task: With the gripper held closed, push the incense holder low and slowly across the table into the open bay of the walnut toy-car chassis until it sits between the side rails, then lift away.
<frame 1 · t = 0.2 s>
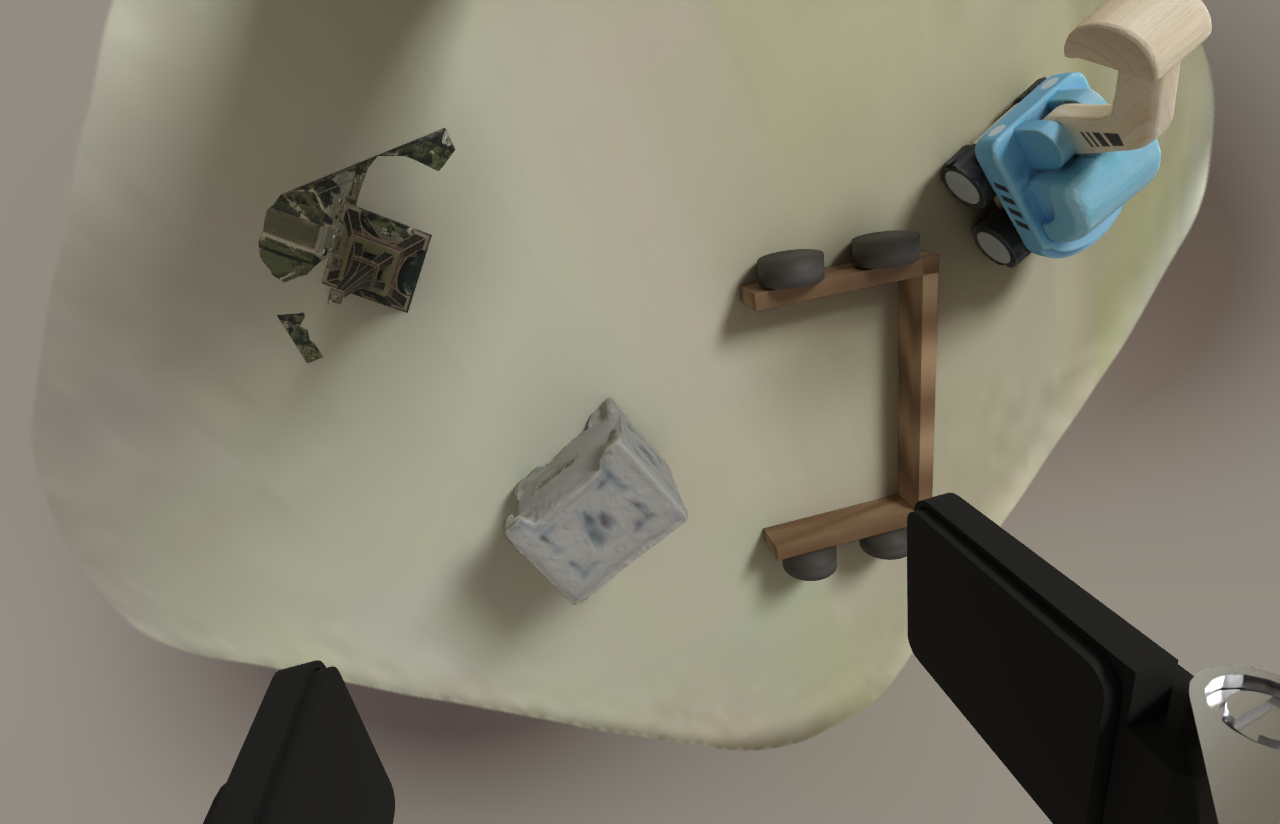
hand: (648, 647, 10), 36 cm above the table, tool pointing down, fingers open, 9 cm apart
eiffel tower figurine: (377, 249, 42), on the table
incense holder: (584, 461, 50), on the table
toy excavator: (985, 142, 47), on the table
chassis bay: (818, 408, 52), on the table
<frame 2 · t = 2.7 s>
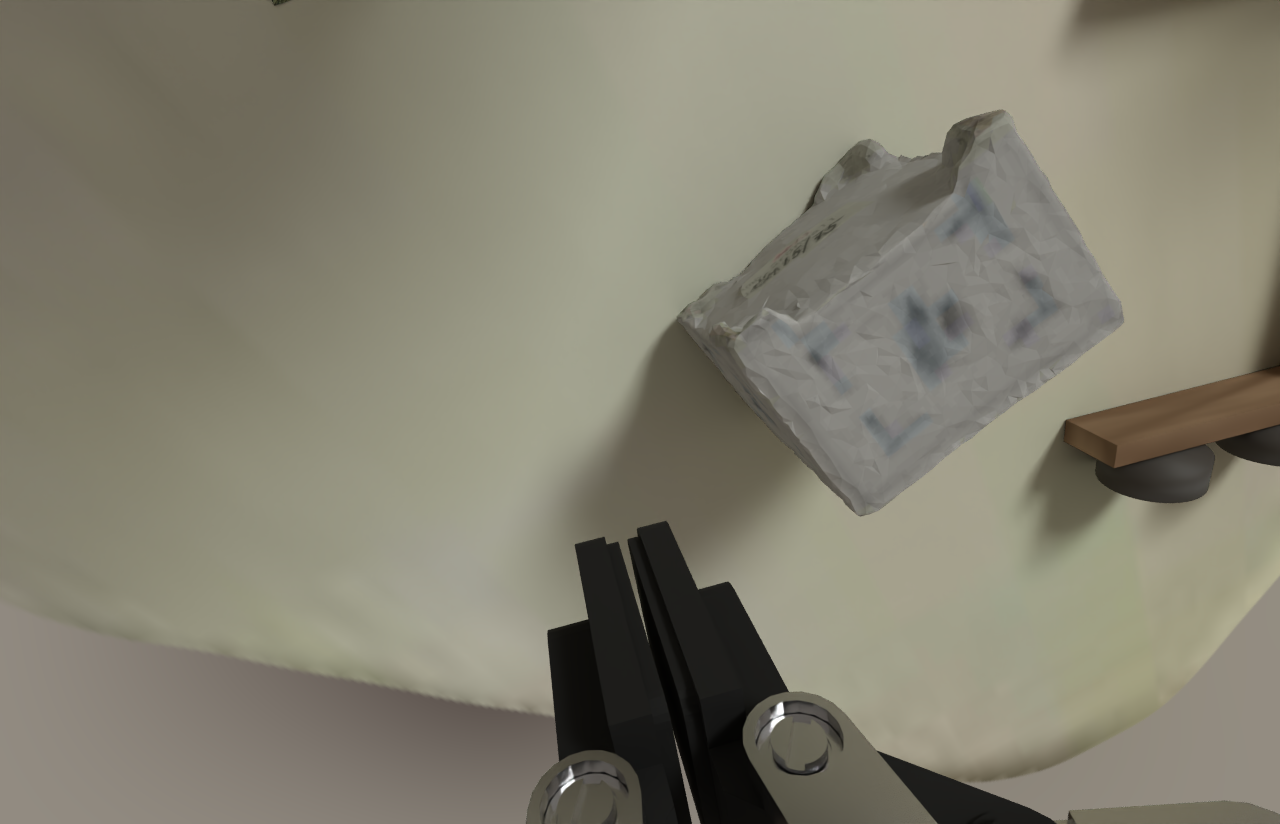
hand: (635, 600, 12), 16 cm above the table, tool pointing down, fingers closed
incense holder: (795, 279, 27), on the table
chassis bay: (1199, 193, 29), on the table
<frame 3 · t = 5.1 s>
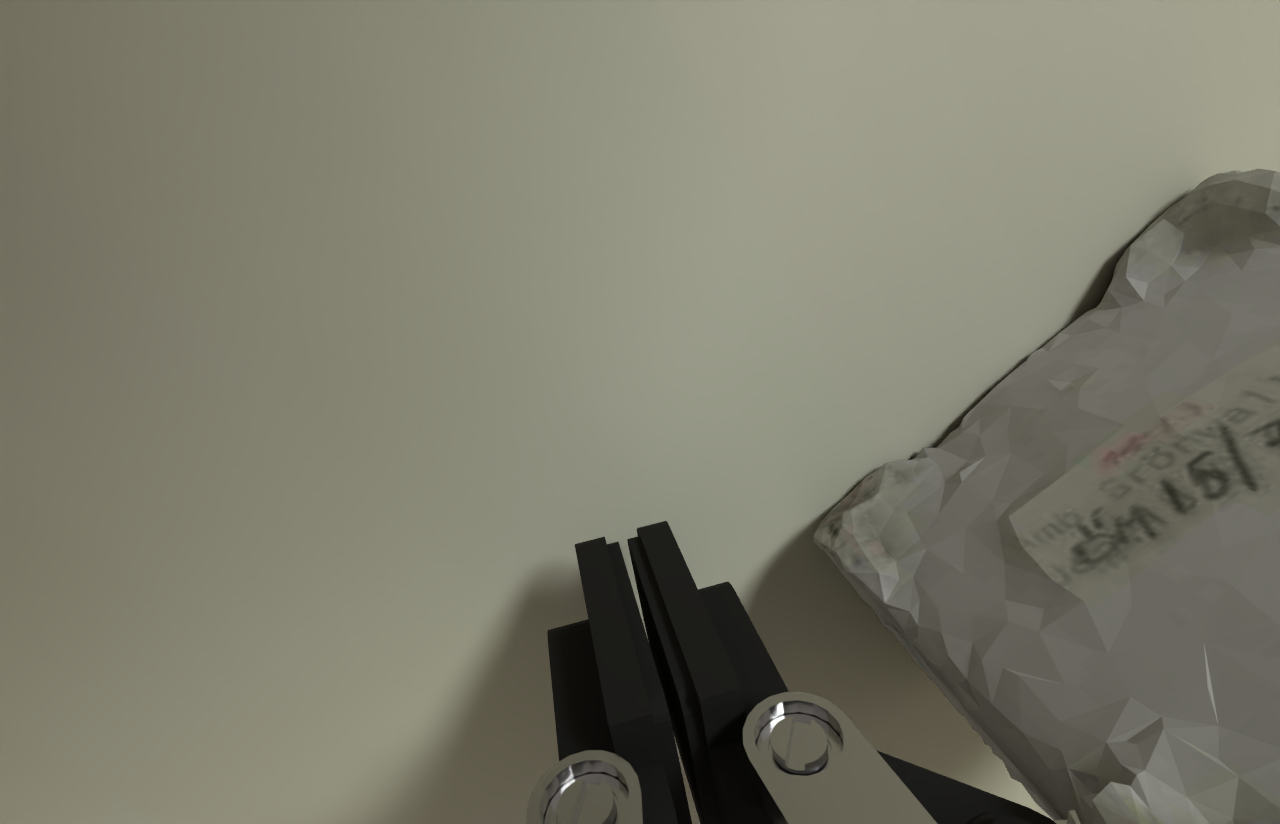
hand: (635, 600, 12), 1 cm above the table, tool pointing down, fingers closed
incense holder: (1035, 440, 14), on the table
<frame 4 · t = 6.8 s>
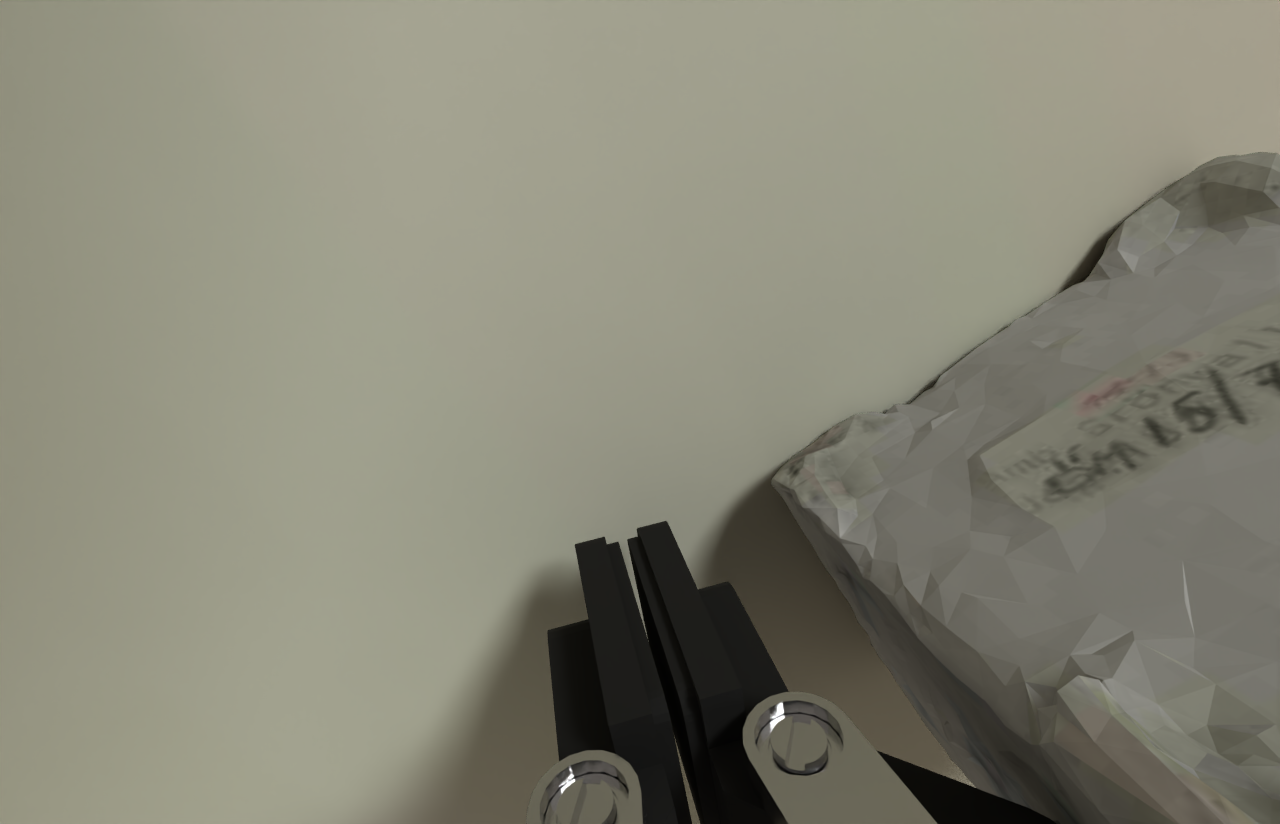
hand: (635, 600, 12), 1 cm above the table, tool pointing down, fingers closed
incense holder: (1006, 418, 13), on the table, touching gripper
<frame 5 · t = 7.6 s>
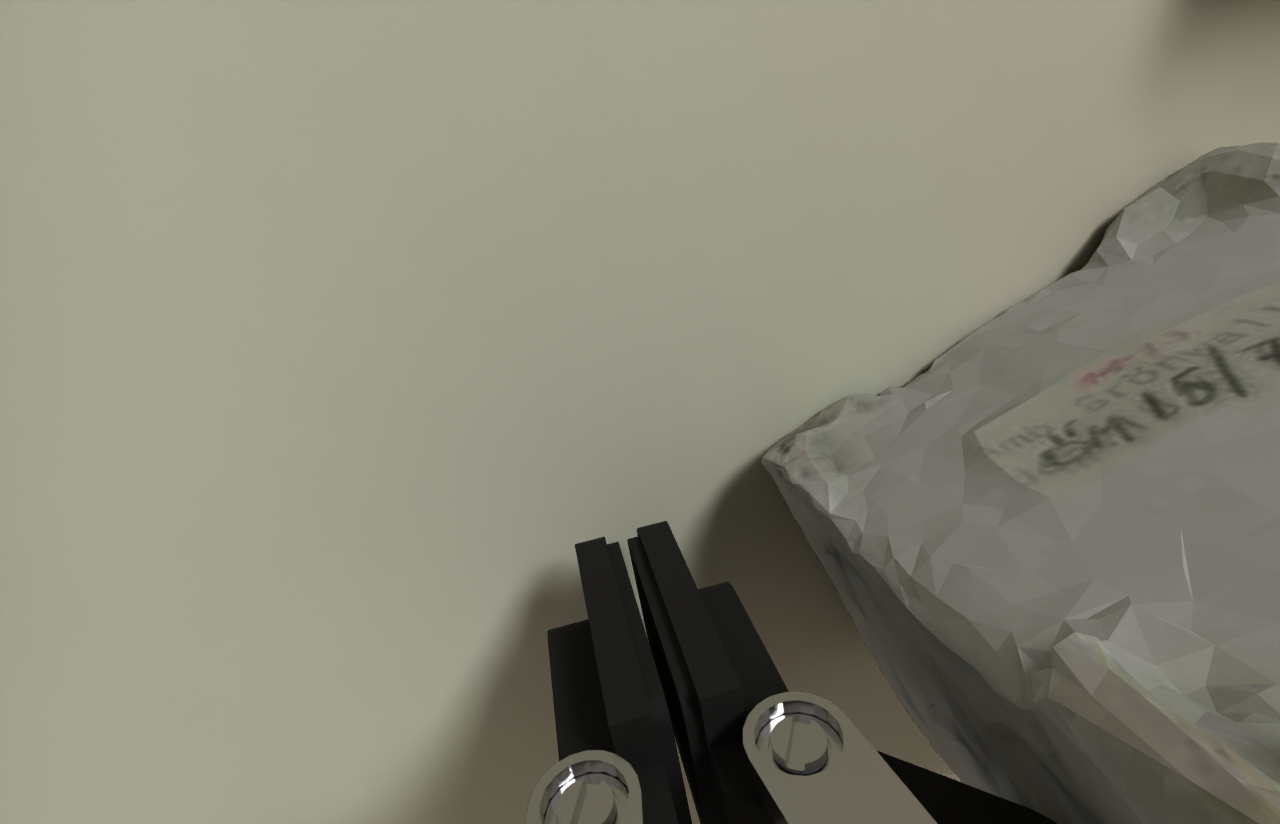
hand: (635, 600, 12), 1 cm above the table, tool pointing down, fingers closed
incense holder: (999, 407, 13), on the table, touching gripper
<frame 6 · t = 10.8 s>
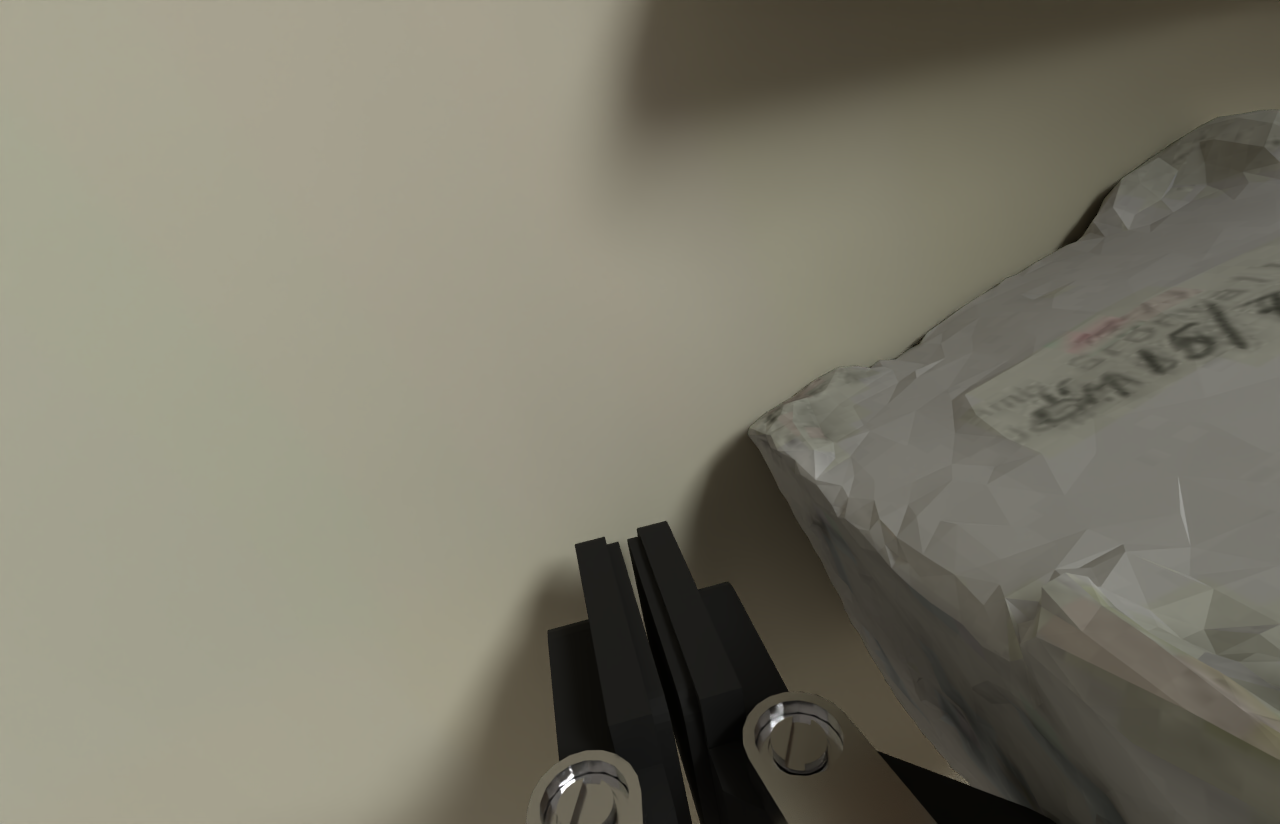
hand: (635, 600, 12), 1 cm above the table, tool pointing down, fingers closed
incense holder: (992, 384, 13), on the table, touching gripper
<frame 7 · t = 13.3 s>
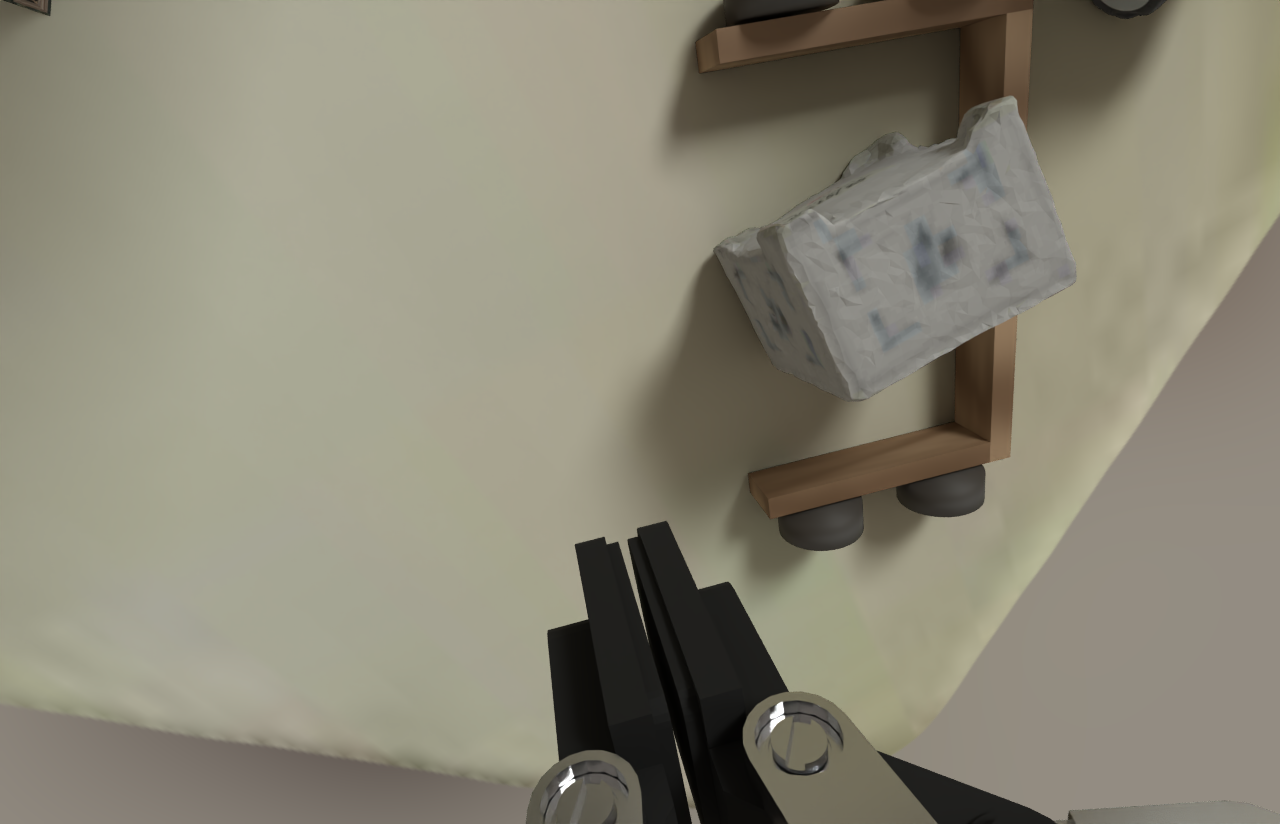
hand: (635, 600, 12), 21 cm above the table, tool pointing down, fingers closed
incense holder: (814, 241, 32), on the table
chassis bay: (831, 274, 33), on the table
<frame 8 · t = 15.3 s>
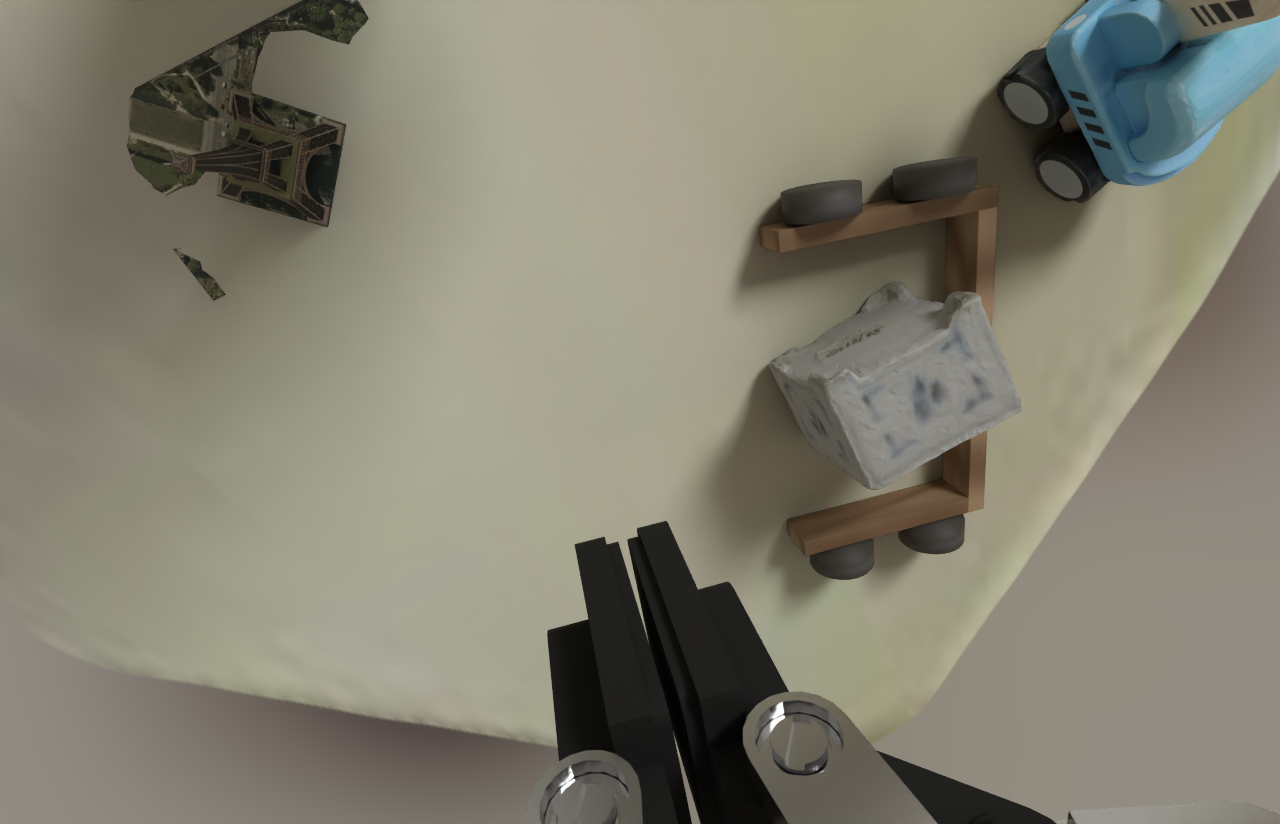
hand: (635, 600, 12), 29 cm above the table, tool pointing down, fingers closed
eiffel tower figurine: (283, 149, 34), on the table
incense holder: (839, 354, 44), on the table
toy excavator: (1050, 52, 39), on the table
chassis bay: (851, 376, 44), on the table
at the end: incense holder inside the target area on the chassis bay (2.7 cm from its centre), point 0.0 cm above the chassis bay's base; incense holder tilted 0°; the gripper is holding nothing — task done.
